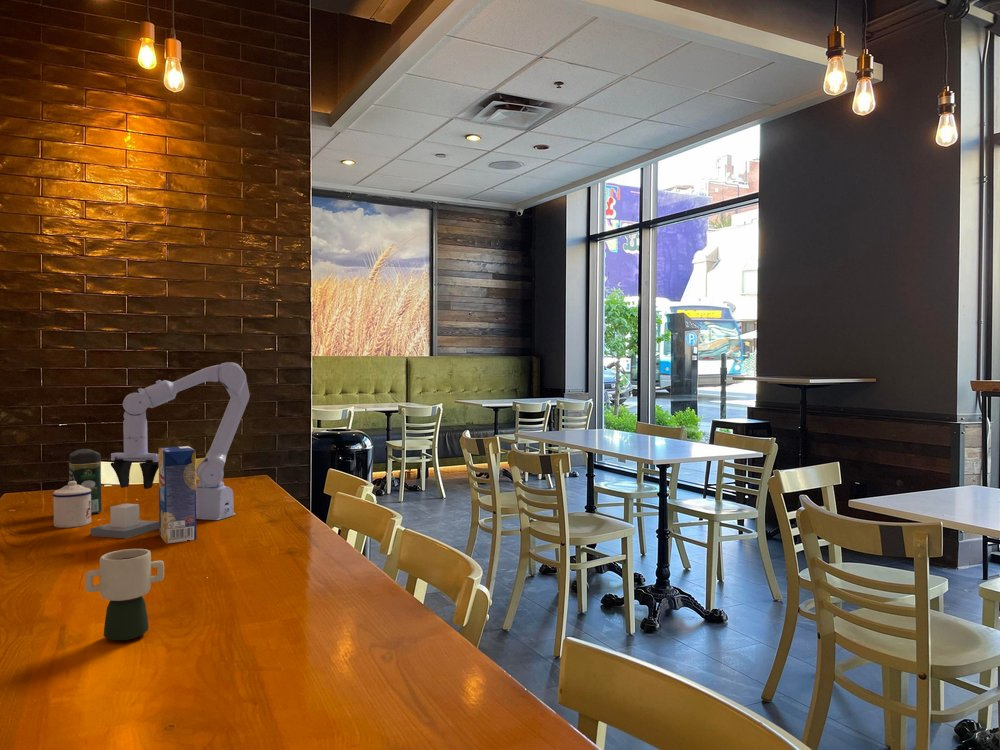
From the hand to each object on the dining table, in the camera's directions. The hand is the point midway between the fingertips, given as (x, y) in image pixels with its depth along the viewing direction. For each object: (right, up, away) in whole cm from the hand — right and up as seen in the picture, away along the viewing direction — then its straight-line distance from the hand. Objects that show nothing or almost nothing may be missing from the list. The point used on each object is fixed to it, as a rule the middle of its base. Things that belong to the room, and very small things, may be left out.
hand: (136, 487), depth 189 cm
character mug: (+40, -11, -79) cm, 89 cm away
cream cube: (+2, -8, -9) cm, 12 cm away
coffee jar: (-23, -10, +15) cm, 29 cm away
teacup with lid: (-18, -10, +1) cm, 21 cm away
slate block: (+2, -11, -9) cm, 14 cm away
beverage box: (+18, -10, -15) cm, 25 cm away
